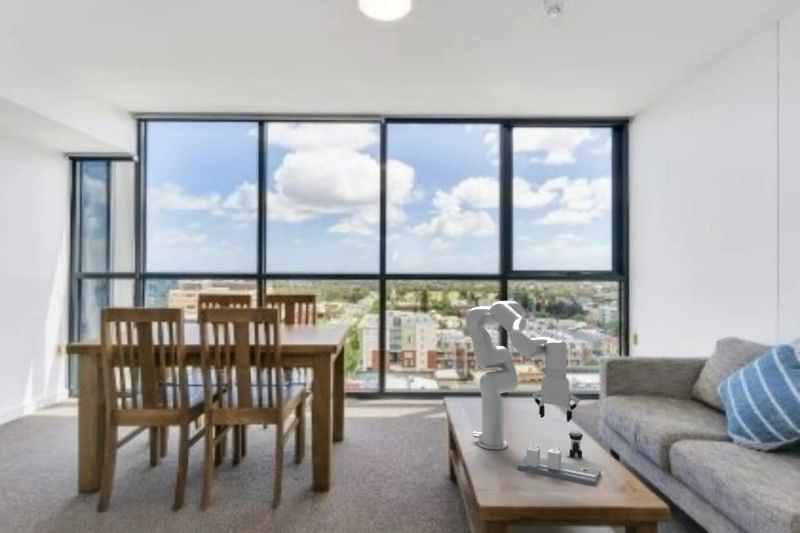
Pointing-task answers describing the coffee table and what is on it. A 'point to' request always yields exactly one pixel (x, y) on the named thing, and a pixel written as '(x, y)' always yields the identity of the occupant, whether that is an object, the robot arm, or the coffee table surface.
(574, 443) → the push button
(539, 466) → the plate
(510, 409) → the coffee table surface
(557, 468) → the sliding block
